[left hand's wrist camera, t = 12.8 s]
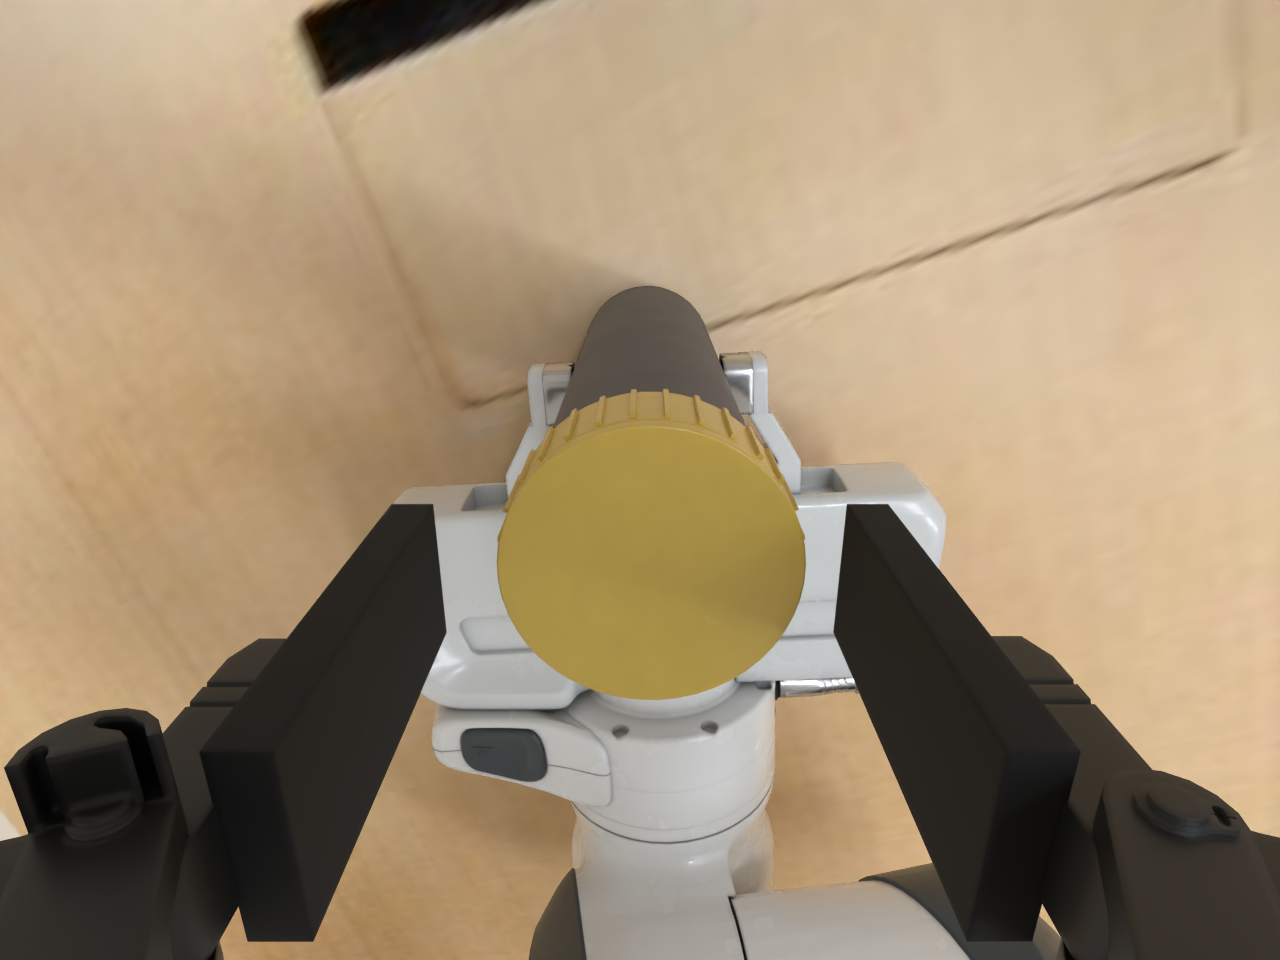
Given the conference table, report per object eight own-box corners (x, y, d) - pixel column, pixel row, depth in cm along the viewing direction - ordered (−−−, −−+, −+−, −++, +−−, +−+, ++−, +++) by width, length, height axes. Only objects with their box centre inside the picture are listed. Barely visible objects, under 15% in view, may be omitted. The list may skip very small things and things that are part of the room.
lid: (636, 682, 17) (635, 753, 15) (454, 507, 16) (425, 558, 14) (843, 534, 16) (873, 588, 14) (666, 326, 14) (669, 351, 12)
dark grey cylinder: (641, 430, 33) (637, 720, 15) (560, 342, 32) (456, 549, 14) (733, 354, 32) (843, 574, 14) (654, 259, 31) (667, 371, 13)
